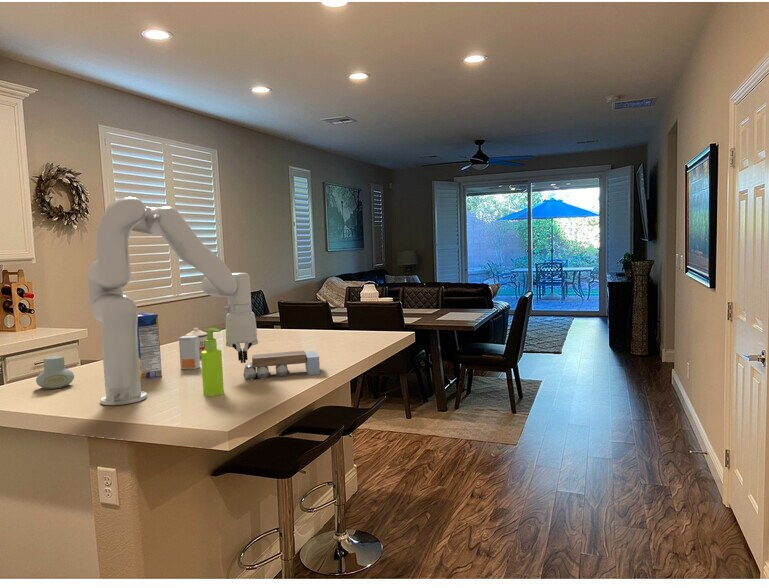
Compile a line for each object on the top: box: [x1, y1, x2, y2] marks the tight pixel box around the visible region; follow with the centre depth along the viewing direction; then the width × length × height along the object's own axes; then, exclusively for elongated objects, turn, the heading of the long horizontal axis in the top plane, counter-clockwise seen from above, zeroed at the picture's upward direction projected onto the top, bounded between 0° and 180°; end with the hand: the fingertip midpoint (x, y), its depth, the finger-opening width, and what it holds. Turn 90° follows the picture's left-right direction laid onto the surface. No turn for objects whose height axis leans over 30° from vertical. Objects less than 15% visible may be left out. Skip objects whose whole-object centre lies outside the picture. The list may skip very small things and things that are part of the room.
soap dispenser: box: [200, 327, 225, 397], centre depth 168 cm, size 6×7×20 cm
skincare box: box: [178, 335, 201, 370], centre depth 209 cm, size 6×4×12 cm
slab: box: [251, 350, 306, 368], centre depth 194 cm, size 8×18×3 cm, turn 103°
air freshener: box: [35, 355, 75, 390], centre depth 185 cm, size 11×8×10 cm
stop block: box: [304, 350, 321, 376], centre depth 196 cm, size 12×4×6 cm, turn 13°
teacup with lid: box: [184, 327, 207, 358], centre depth 236 cm, size 12×9×12 cm
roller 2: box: [274, 365, 289, 378], centre depth 194 cm, size 11×4×4 cm, turn 12°
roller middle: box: [256, 366, 270, 380], centre depth 192 cm, size 11×4×4 cm
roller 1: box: [243, 361, 257, 381], centre depth 191 cm, size 11×4×4 cm, turn 13°
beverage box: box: [137, 312, 163, 380], centre depth 198 cm, size 7×11×22 cm, turn 42°
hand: (243, 362), depth 191 cm, fingers closed
